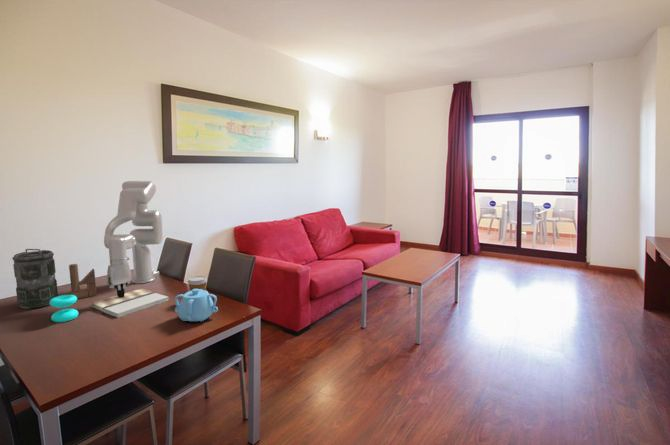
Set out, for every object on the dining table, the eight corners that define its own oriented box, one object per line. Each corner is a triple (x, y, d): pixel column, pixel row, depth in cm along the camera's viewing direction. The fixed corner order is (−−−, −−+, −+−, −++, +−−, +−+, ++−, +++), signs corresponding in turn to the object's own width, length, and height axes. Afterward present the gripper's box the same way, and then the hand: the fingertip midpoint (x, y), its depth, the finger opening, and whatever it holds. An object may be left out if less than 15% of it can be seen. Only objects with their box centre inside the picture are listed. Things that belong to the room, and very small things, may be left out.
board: (154, 296, 198) (154, 291, 197) (168, 300, 192) (168, 295, 191) (103, 312, 176) (103, 307, 175) (118, 317, 170) (117, 312, 169)
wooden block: (96, 295, 198) (93, 262, 195) (72, 299, 191) (68, 266, 188) (95, 293, 201) (92, 261, 198) (71, 297, 194) (68, 264, 191)
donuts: (82, 294, 171) (63, 302, 161) (84, 315, 172) (65, 324, 162) (63, 293, 172) (43, 300, 162) (65, 313, 174) (45, 322, 164)
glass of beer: (197, 296, 198) (196, 274, 196) (212, 298, 195) (211, 276, 193) (184, 302, 189) (183, 279, 187) (199, 305, 186) (198, 282, 184)
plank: (142, 291, 203) (142, 288, 203) (153, 295, 198) (153, 292, 198) (91, 306, 181) (91, 302, 180) (103, 311, 176) (102, 307, 175)
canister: (9, 309, 177) (2, 252, 173) (35, 297, 193) (29, 245, 189) (42, 309, 177) (36, 252, 173) (66, 298, 193) (60, 245, 189)
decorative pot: (172, 316, 172) (170, 288, 170) (206, 308, 182) (205, 281, 180) (185, 328, 160) (183, 298, 158) (220, 318, 170) (219, 290, 168)
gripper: (128, 257, 195) (131, 291, 198) (98, 263, 183) (101, 299, 185) (137, 259, 192) (139, 293, 194) (107, 265, 179) (110, 302, 182)
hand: (121, 296), depth 190 cm, fingers closed
